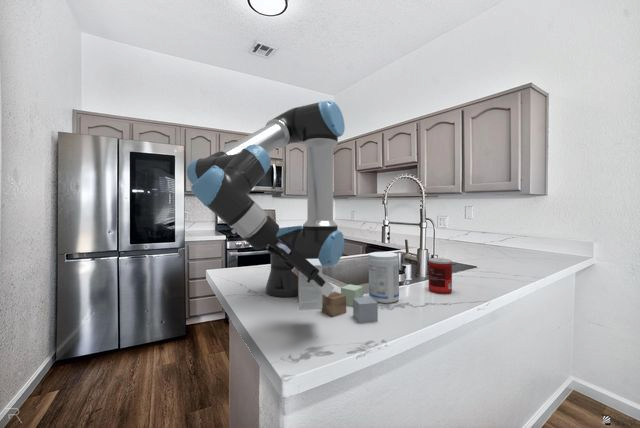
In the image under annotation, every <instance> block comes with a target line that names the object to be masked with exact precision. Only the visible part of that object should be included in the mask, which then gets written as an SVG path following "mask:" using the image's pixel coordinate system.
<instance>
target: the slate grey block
mask: <svg viewBox="0 0 640 428" xmlns="http://www.w3.org/2000/svg"><path fill="white" fill-rule="evenodd" d="M378 304H379V302H376V301H375V300H374V299H372V298H371V297H369V296H363V297H362V298H353V306H352V316H353V317H354V319H355V320H356V321H357V322H358V323H359V324H364V323H365V324H366V323H367V324H368V323H374V322H375V323H377V322H378V319H379V317H378V313H379V310H378V308H379V307H378V306H379V305H378Z"/></svg>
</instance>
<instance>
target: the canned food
mask: <svg viewBox="0 0 640 428" xmlns="http://www.w3.org/2000/svg"><path fill="white" fill-rule="evenodd" d="M427 268H428V274H427V275H428V276H427V277H428V280H427V281H428V290H429V291H430V292H431V293H435V294H439V295H440V294H441V295H448V294H451V293H452V290H453V261H452V259H449V258H446V257H445V258H443V257H433V258H432V257H431V258H428V267H427Z"/></svg>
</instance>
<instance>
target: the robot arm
mask: <svg viewBox="0 0 640 428" xmlns="http://www.w3.org/2000/svg"><path fill="white" fill-rule="evenodd" d="M345 130H346V129H345V120H344V116H343V112H342V111H341V108H340V107H339V106H338V104H337V103H336V102H335V101H333V100H324V101H321V100H320V101H318V102H316V103H314V102H313V103H311V104H306V105H302V106H297V107H294V108H290V109H288V110H286V111H285V112H283V113H281V114H279V115H277V116H275V117H274V118H271V119H270V120H268V121H267V122H266V124H265V126H264V127H261V128H259V129H258V130H256V131H253V133H250V134H248V135H247V136H245V137H242V138H241V139H239V140H237V141H235V142H233V143H232V144H230V145H228V146H225V147H224V148H223V149H220V150H218V151H217V152H214V153H212V154H211V155H209V156H207V157H204V158H203V157H202V158H198V159H194V160H193V161H190V163H189V164H188V165H187V169H186V176H187V179H188V181H189V182H190V184H192V185H191V187H190V190H191V193H192V194H193V195H194V196H195V197H196V198H197V199H198V200H199V201H200V202H201V203H202V204H203V206H205V207H207V209H209V210H211V212H212V213H214V214H215V215H216V216H217V217H218V218H220V220H221V221H223V222H224V223H225V224H227V226H229V227H230V228H231V231H230V232H231V233H232V235H233V234H237V235H239V236H240V238H242V239H243V238H244V240H245V242H247V244H248V245H250V246H251V247H252V249H254V250H256V251H260V250H262V249H264V248H265V249H266V251H267V252H269V254H270V255H269V257H270V273H269V274H268V279H267V282H266V285H265V286H266V287H265V291H266V292H267V293H266V294H267V295H269V296H272V297H278V298H292V297H298V270H299V271H300V272H301V273H302V274H304V275H305V276H306V277H307V278H308V280H307V282H308V283H309V282H311V283H312V284H313V285H314V286H316V287H317V288H318V289H319V290H320V291H321V292H322V295H323V294H324V295H325V296H327V297H328V296H329V294H330V293H331V292H333V290H334V289H335V286H334V285H332V284H331V283H330V282H329V280H327V279H326V278H325V276H323V274H322V275H321V274H320V273H319V270H318V269H317V268H316V267H314V266H313V265H312V264H311V263H310V262H309V261H308V260H306V259H319V261H320V263H321V265H322V267H332V266H335V265H336V264H338V262H340V260H341V258H342V256H343V252H344V249H345V237H344V234H343V232H342V231H340V230H339V229H338V224H337V223H336V222H335V220H334V149H335V148H336V146H337V145H338V144H339V143H338V142H339V141H338V139H339V138H340V137H342V136H343V134H345V133H344V132H345ZM295 143H302V144H303V146H304V147H305V148H306V149H307V201H306V202H307V204H306V205H307V206H306V207H307V209H306V210H307V216H306V218H307V219H306V221H305V222H304V223H303V224H302V225H294V226H286V227H280V226H279V224H278V223H277V222H276V221H275V220H274V219H273V218H272V217H271V216H269V215H267V212H266V211H265V210H264V209H263V208H262V207H261V206H260V205H259V204H258V203H257V202H256V201H254V199H252V198H251V197H250V195H249V193H251V191H252V190H253V189H254V187H256V185H257V184H258V183H259V182H260V181H261V180H262V179H263V177H265V176H266V174H267V172H268V171H269V169H270V168H271V165H272V161H271V159H272V158H271V157H270V155H269V154H270V153H272V151H275V150H276V149H277V148H279V149H281V148H284V147H285V146H287V145H290V144H291V145H292V144H295Z"/></svg>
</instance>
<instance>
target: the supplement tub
mask: <svg viewBox="0 0 640 428" xmlns="http://www.w3.org/2000/svg"><path fill="white" fill-rule="evenodd" d="M367 261H368V295H369V296H368V297H371V298H372V299H374V300H375V301H376V302H377V303H382V304H391V303H394V302H397V301H398V300H399V298H400V279H399V278H400V275H399V274H400V273H399V272H400V271H399V255H398V253H397V252H391V251H374V252H373V251H372V252H370V253H368V260H367Z"/></svg>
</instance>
